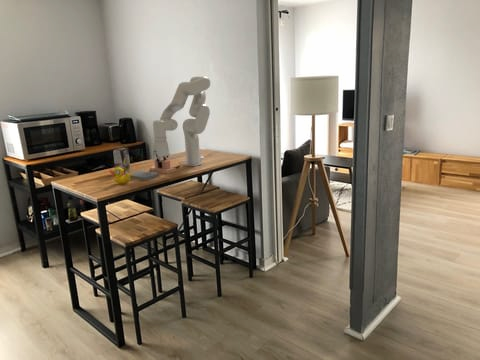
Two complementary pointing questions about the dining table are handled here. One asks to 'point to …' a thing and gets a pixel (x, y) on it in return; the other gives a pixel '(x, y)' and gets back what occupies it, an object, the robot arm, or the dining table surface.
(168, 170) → the stub
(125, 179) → the duckling
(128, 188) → the dining table surface
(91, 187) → the dining table surface
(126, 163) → the coffee box
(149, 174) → the ticket board
